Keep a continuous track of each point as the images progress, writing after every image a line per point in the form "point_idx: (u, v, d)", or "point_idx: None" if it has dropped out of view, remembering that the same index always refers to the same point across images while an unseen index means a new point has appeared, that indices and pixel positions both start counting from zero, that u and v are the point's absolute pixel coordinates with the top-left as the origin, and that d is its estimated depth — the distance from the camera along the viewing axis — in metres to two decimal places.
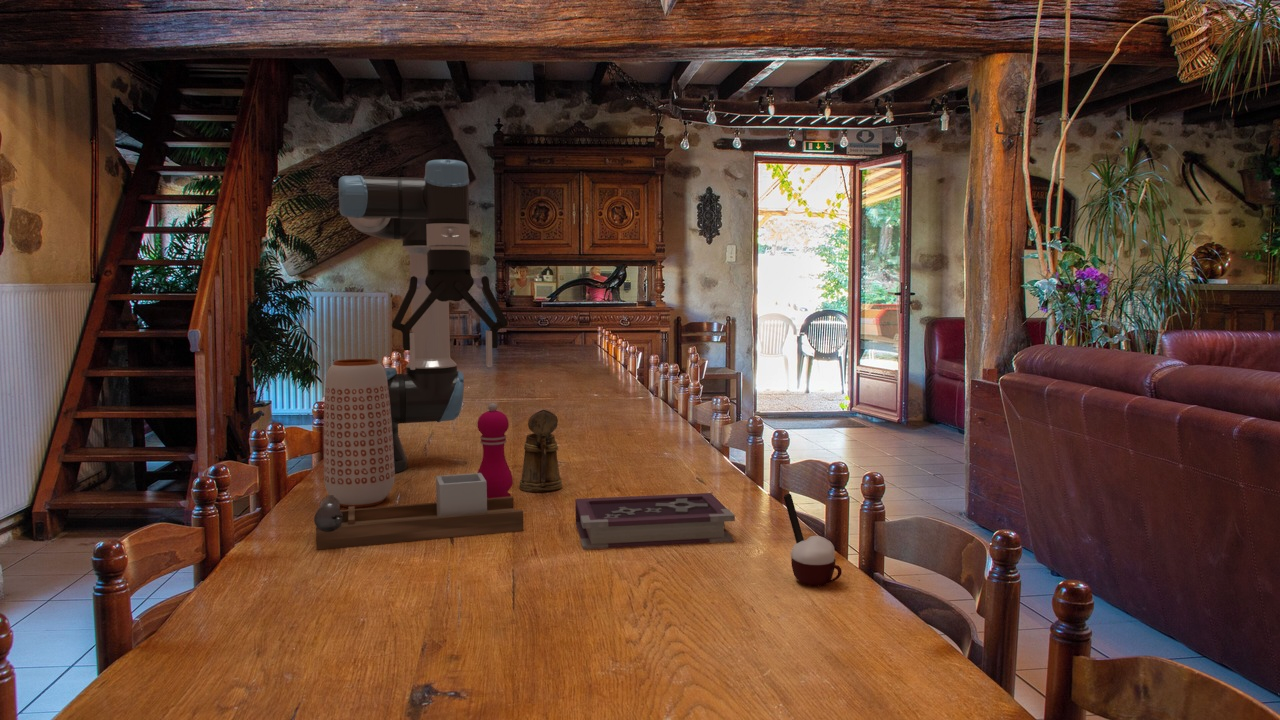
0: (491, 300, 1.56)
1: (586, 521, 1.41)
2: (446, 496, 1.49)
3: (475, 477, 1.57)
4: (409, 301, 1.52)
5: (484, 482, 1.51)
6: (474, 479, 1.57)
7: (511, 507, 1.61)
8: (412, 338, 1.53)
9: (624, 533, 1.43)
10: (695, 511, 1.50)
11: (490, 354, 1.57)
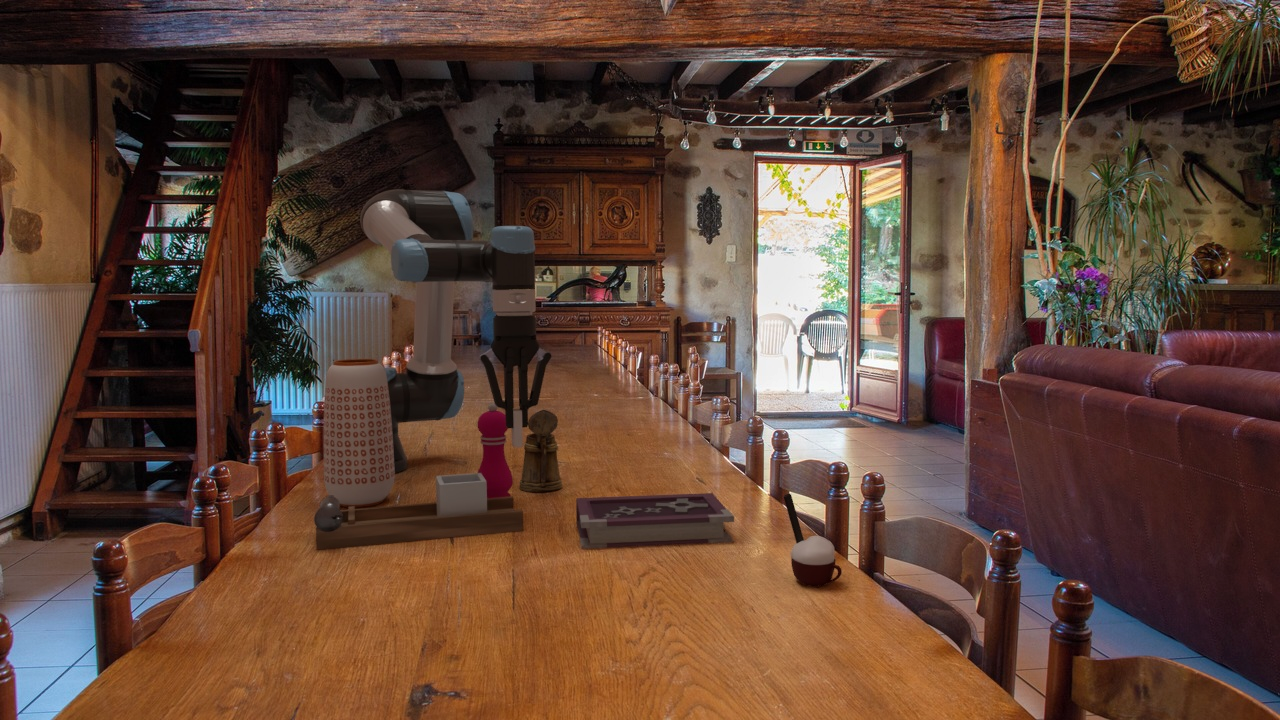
0: (539, 376, 1.55)
1: (585, 521, 1.42)
2: (446, 496, 1.49)
3: (475, 477, 1.57)
4: (494, 377, 1.52)
5: (484, 482, 1.51)
6: (474, 479, 1.57)
7: (511, 507, 1.61)
8: (516, 416, 1.54)
9: (623, 533, 1.43)
10: (695, 511, 1.50)
11: (520, 434, 1.54)
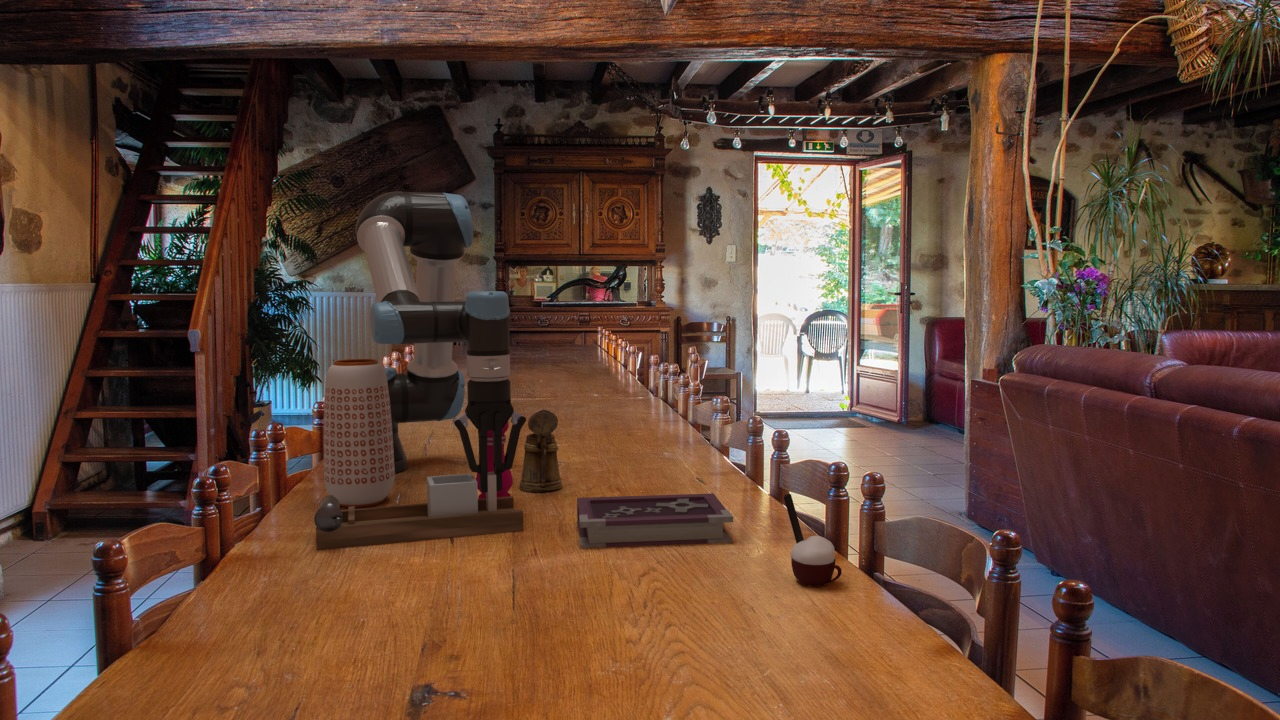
0: (513, 440, 1.55)
1: (583, 520, 1.42)
2: (437, 497, 1.49)
3: (466, 478, 1.56)
4: (468, 442, 1.52)
5: (475, 482, 1.51)
6: (465, 480, 1.56)
7: (511, 507, 1.61)
8: (490, 480, 1.54)
9: (622, 533, 1.44)
10: (695, 512, 1.49)
11: (494, 498, 1.54)
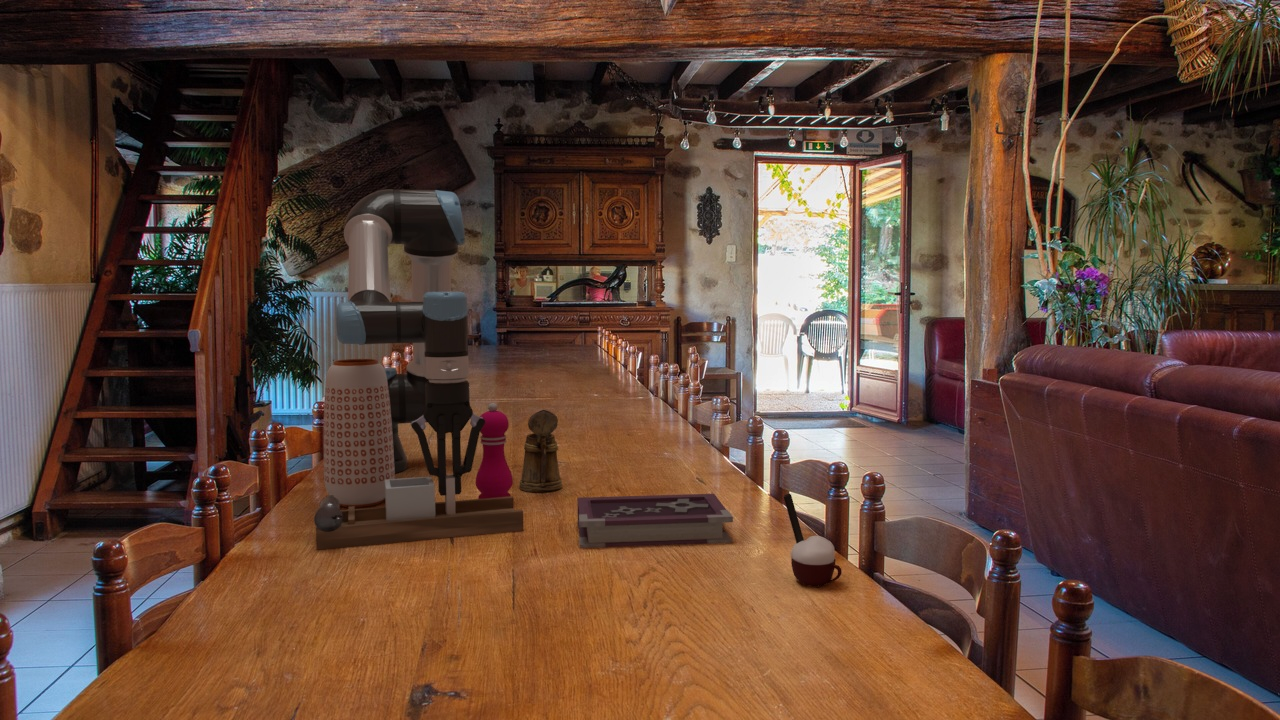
0: (472, 442, 1.52)
1: (583, 520, 1.42)
2: (393, 500, 1.46)
3: (425, 481, 1.54)
4: (426, 445, 1.50)
5: (432, 486, 1.48)
6: (424, 483, 1.54)
7: (511, 507, 1.61)
8: (448, 483, 1.51)
9: (621, 532, 1.44)
10: (695, 512, 1.49)
11: (453, 501, 1.52)
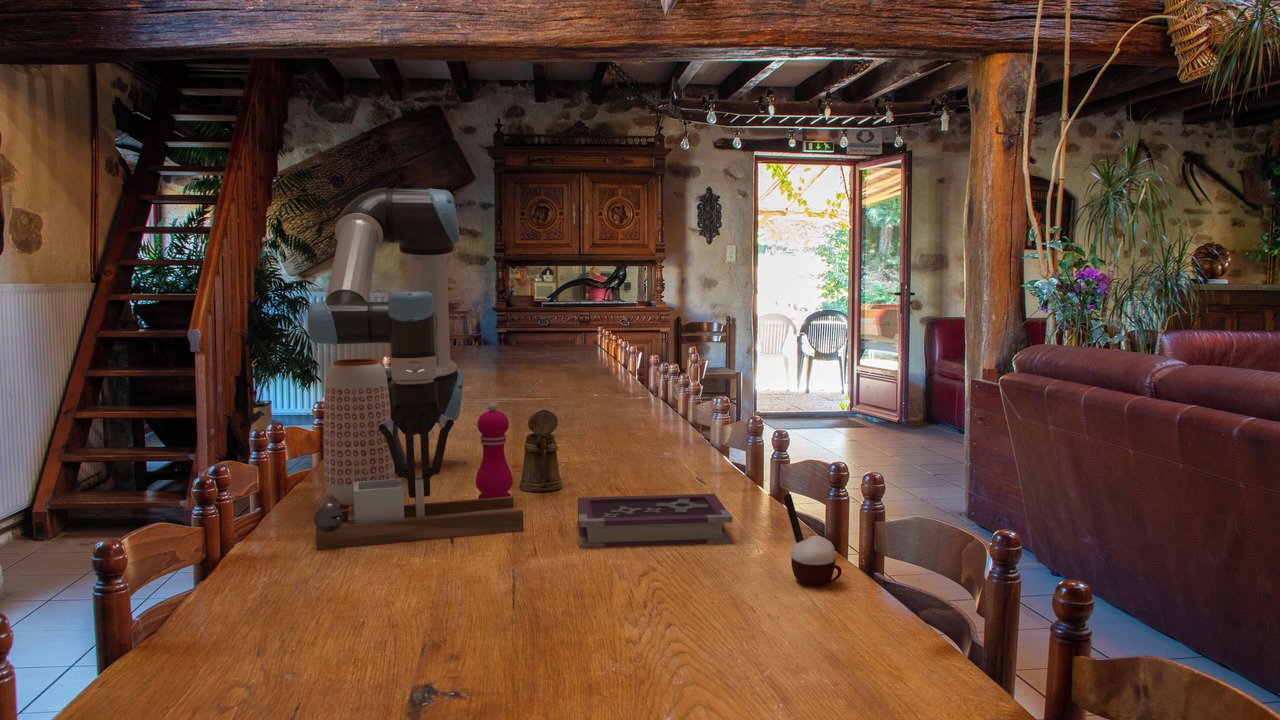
0: (441, 443, 1.51)
1: (583, 520, 1.42)
2: (361, 503, 1.45)
3: (395, 483, 1.53)
4: (394, 447, 1.48)
5: (401, 488, 1.47)
6: (394, 485, 1.53)
7: (511, 507, 1.61)
8: (418, 485, 1.50)
9: (621, 532, 1.44)
10: (695, 512, 1.49)
11: (422, 503, 1.50)
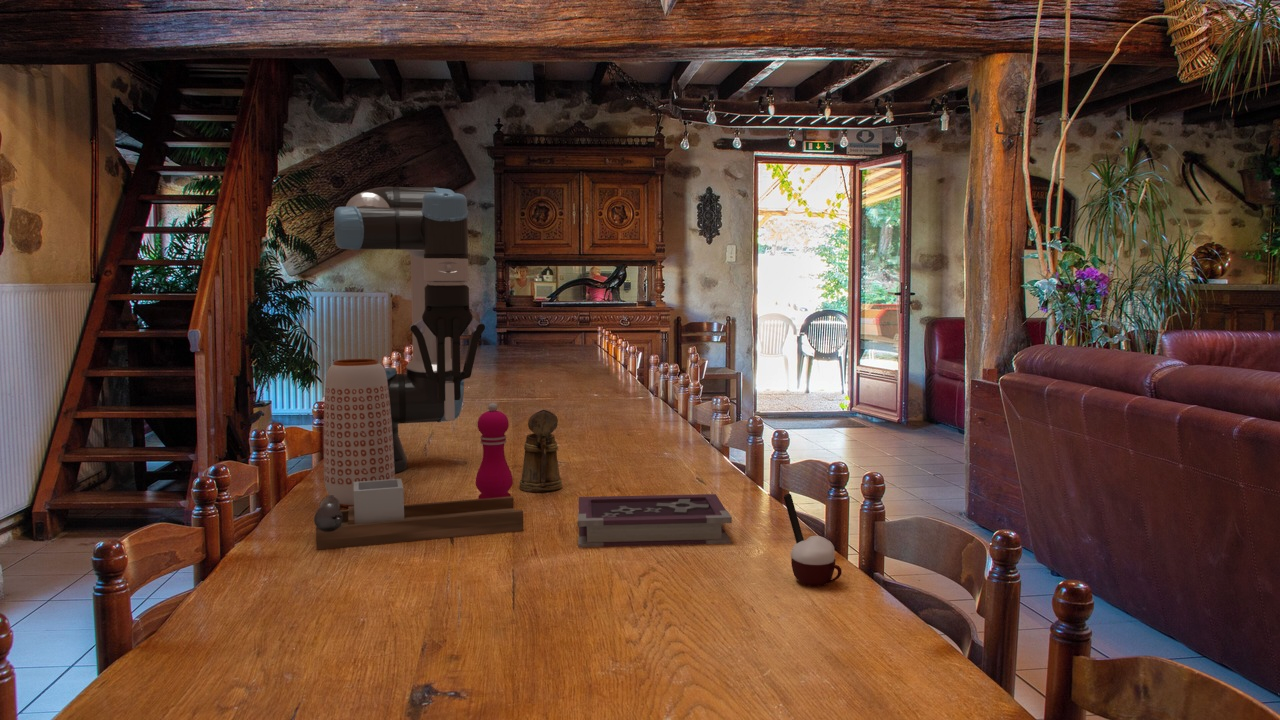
0: (472, 347, 1.51)
1: (581, 519, 1.42)
2: (361, 503, 1.45)
3: (395, 483, 1.53)
4: (425, 348, 1.49)
5: (401, 488, 1.47)
6: (394, 485, 1.53)
7: (511, 507, 1.61)
8: (447, 388, 1.50)
9: (620, 532, 1.44)
10: (694, 512, 1.49)
11: (452, 407, 1.51)
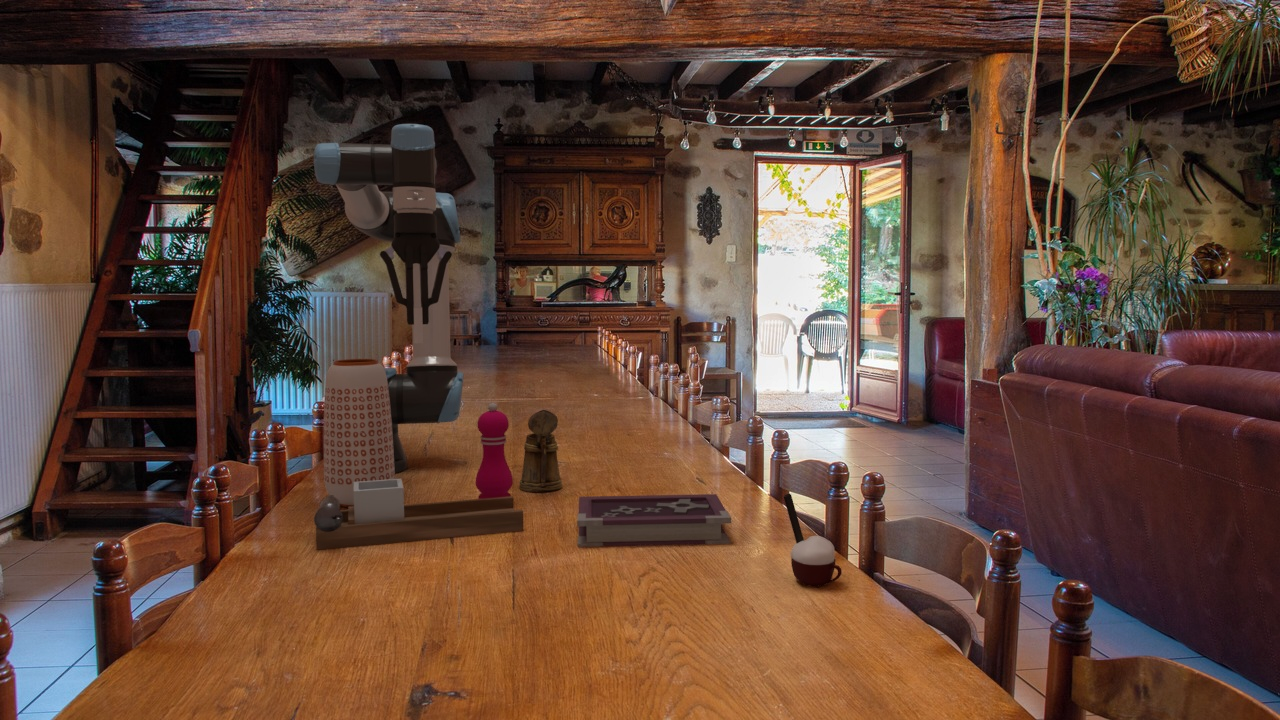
0: (439, 274, 1.58)
1: (581, 519, 1.43)
2: (361, 503, 1.45)
3: (395, 483, 1.53)
4: (394, 273, 1.56)
5: (401, 488, 1.47)
6: (394, 485, 1.53)
7: (511, 507, 1.61)
8: (416, 312, 1.57)
9: (619, 532, 1.44)
10: (694, 512, 1.49)
11: (420, 330, 1.58)
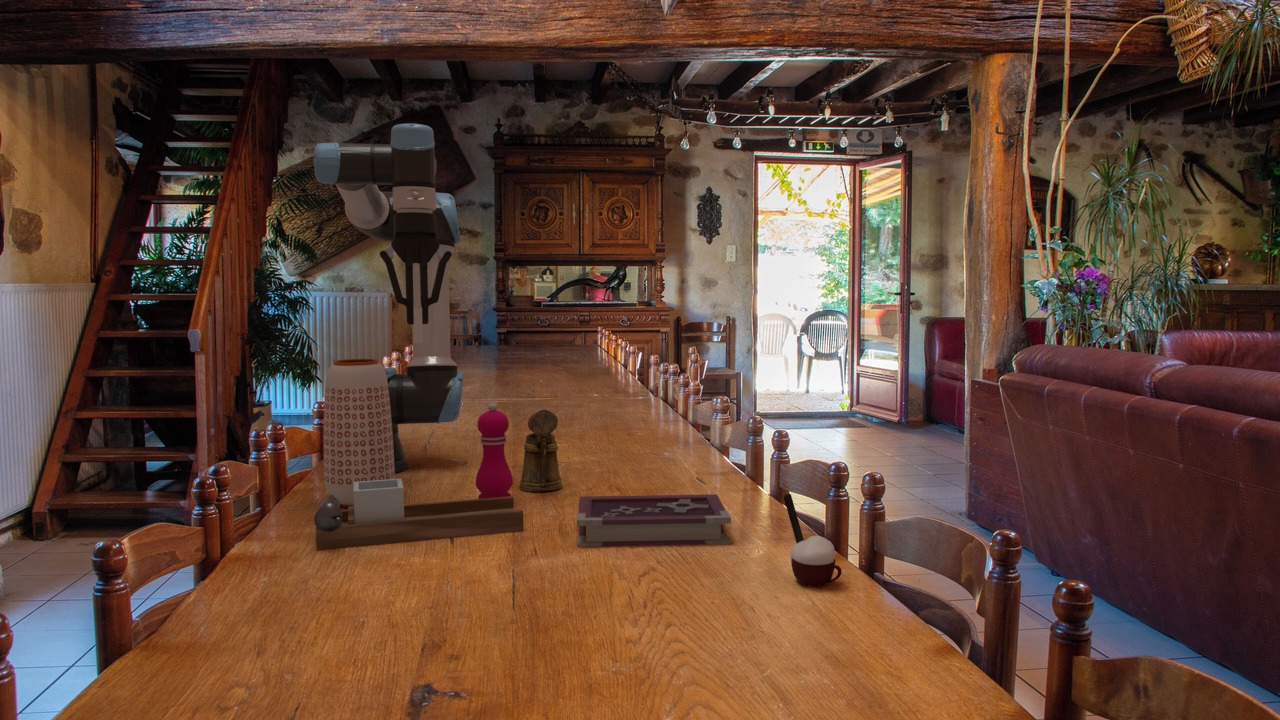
0: (439, 273, 1.58)
1: (580, 519, 1.43)
2: (361, 503, 1.45)
3: (395, 483, 1.53)
4: (394, 273, 1.56)
5: (401, 488, 1.47)
6: (394, 485, 1.53)
7: (511, 507, 1.61)
8: (416, 312, 1.57)
9: (619, 532, 1.44)
10: (694, 512, 1.49)
11: (420, 330, 1.58)
